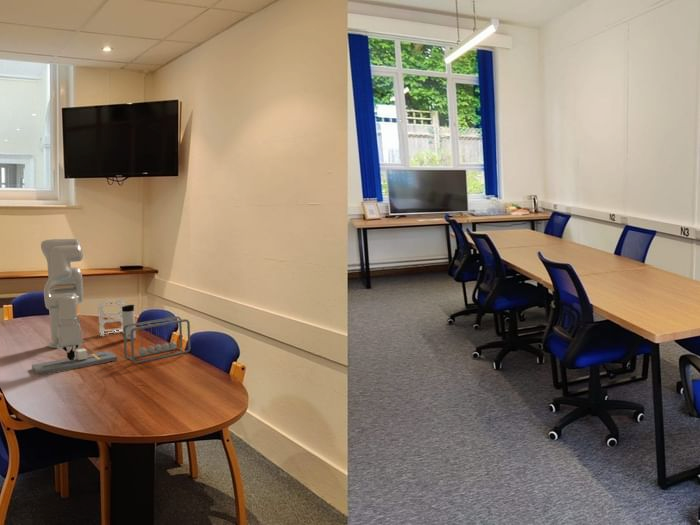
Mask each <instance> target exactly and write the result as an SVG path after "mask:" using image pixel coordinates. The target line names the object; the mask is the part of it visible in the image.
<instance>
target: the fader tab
mask: <svg viewBox="0 0 700 525" xmlns="http://www.w3.org/2000/svg"><path fill="white" fill-rule="evenodd" d="M87 355H88V349H86V348H77V349H76V350H75V357H76V359H78V360H82V359H88V358H87Z"/></svg>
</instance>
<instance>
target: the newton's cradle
mask: <svg viewBox="0 0 700 525" xmlns="http://www.w3.org/2000/svg"><path fill="white" fill-rule="evenodd" d="M176 319H177V320H176ZM165 321H166V322H165ZM160 322H161V323H160ZM185 322H186V324H187V350H184V349H182V347H183V332H182V323H185ZM175 324H178V325H179V326H178V328H179V346H178V347H177V343H176V341H174V340H171V341H170V342H169V343H168V342H164V343H163V344H160V343H159V342H160V341H159V340H160V339H159V338H160V337H157V339H156V342H157V344H156V345H154V346H153V345H149V346H147V348H145V347H144V345H143V339H140V342H141V347H140V348H139V349H138V355H135V346H134V345H135V342H134V341H135V340H133V332H134V331H135V332H136V331H138V330H140V332H139V333H140V334H142V335H143V336H142V337H144V335H145V334H144V332H145V329H147V330H148V333H150V335H152V333H153V332H152V330H153V329H152V328H157V327H161V326H162V329H163V332H165V330H167V326H168V325H169V327H170V329H173V330H172V332H173V333H174V330H175V329H174V328H175ZM171 325H173V327H172V326H171ZM131 326H135V328H133V327H131ZM136 326H137V327H136ZM163 326H165V330H164V327H163ZM127 327H131V328H133V329H132V330H131V340H130V345H131V346H130V347H131V356H128V350H127V348H128V347H127V341H126V328H127ZM149 328H150V330H151V331H149ZM142 330H143V331H142ZM141 331H142V332H141ZM155 333H156V336H158V335H157V334H158V333H157V331H155ZM173 333H171V337H173ZM122 335H123V350H124V352H123V353H124V358H125V359H126V360H129V359H130V360H131V362H132V364H135V365H137V364H141V363H147V362H152V361H156V360H161V359H165V358H169V357H174V356H179V355H183V354H187V353H189V352H190V351H191V326H190V321H189V319H186V318H184V319H183V318H181V317H180V316H172V317H165V318H159V319H153V320H147V321H141V322H135V323H134V324H128V325H125V326H124V328H123V332H122ZM163 338H164V340H166V335H163ZM148 339H149V341H151V337H148ZM176 350H180V352H174V353H171V354H170V353H169V352H171V351H172V352H173V351H176ZM162 353H169V354H165V355H160V356H156V357H151V358H145V359H142V360H137V361H136V360H135V359H139V358H142V357H148V356H153V355H158V354H162ZM134 358H135V359H134Z"/></svg>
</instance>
